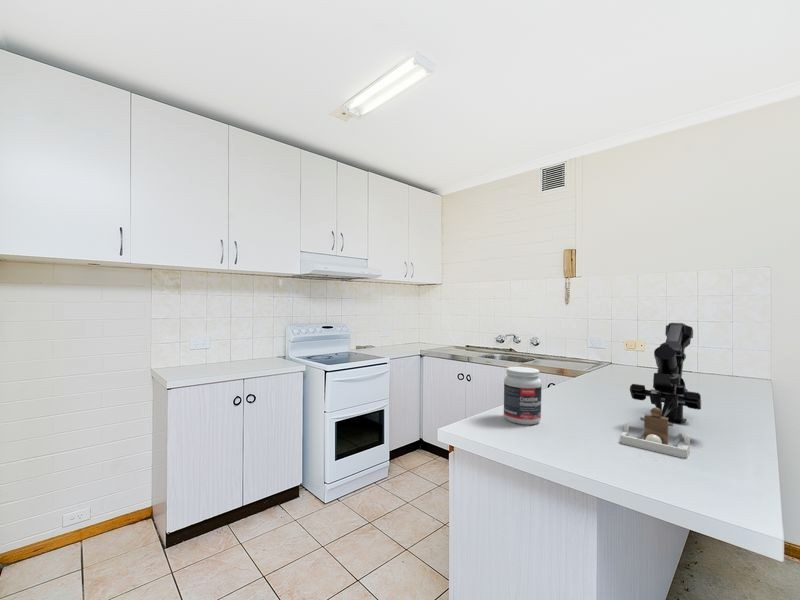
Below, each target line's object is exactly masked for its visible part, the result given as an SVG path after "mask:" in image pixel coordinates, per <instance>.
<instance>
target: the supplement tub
mask: <svg viewBox="0 0 800 600" xmlns="http://www.w3.org/2000/svg"><path fill="white" fill-rule="evenodd" d="M505 374H506V376H505V377H504V381H503V383H504V384H503V418H504V419H506V420H507V421H508V422H511V423H514V424H517V425H522V426H523V425H524V426H527V425H536V424H538V423H540V421H541V420H542V419H541V418H542V381H541V379H540V378H539V377H540V376H541V375H540V370H539V369H537V368H533V367H527V366H509V367H506V373H505Z"/></svg>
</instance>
